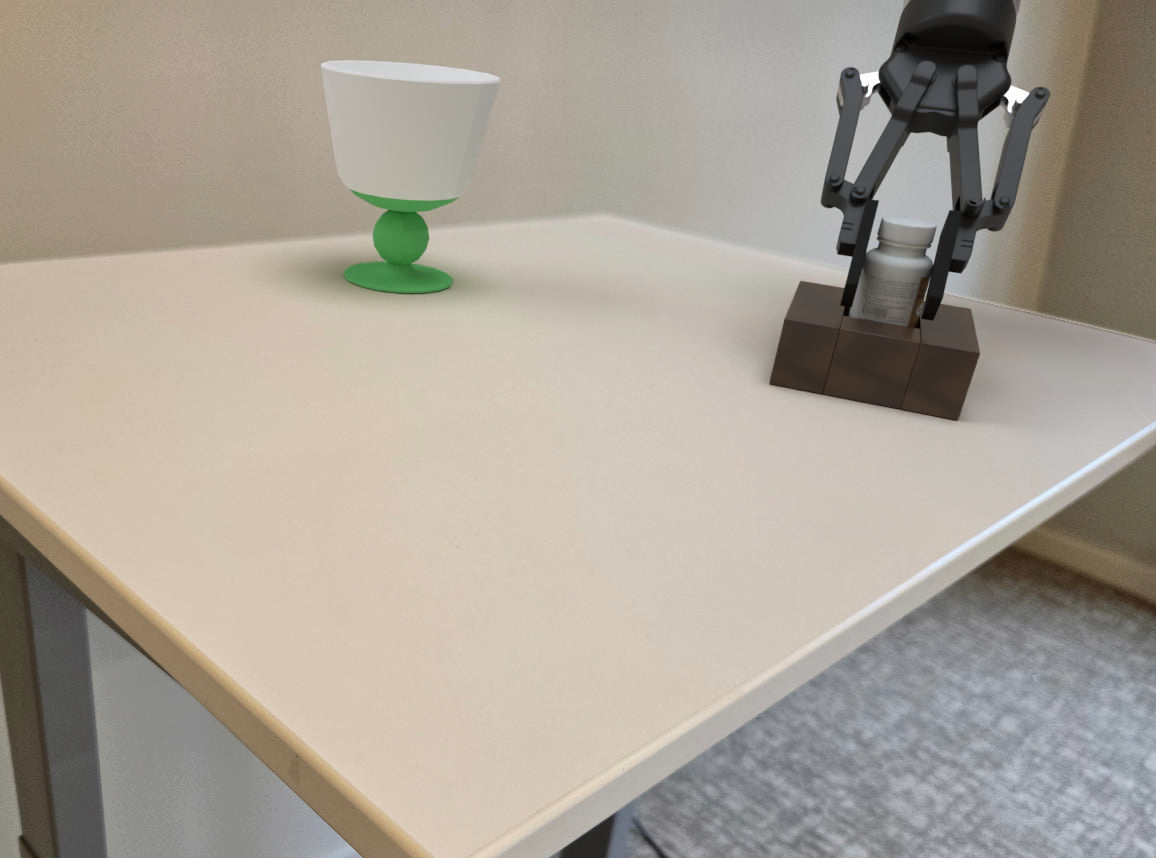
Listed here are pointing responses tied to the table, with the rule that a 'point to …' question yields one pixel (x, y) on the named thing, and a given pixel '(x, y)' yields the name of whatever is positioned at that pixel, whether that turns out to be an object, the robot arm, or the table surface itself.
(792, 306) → the holder
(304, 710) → the table surface
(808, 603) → the table surface
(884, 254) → the pill bottle
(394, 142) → the cup
